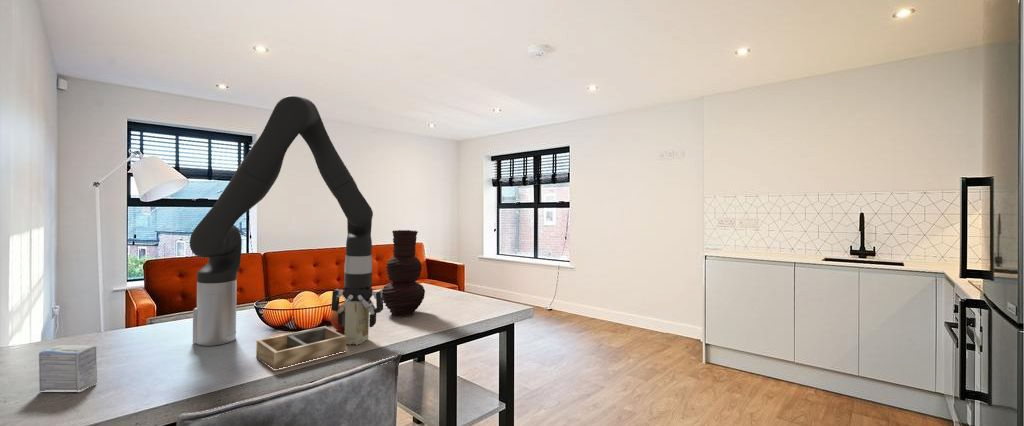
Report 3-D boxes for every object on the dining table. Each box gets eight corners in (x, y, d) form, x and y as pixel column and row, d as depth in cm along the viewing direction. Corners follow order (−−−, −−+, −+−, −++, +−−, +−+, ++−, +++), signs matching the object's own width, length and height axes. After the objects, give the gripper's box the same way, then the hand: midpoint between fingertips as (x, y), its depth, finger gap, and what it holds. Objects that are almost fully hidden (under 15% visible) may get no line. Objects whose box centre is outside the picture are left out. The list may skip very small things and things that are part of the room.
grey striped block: (98, 384, 93) (98, 345, 93) (77, 394, 89) (77, 352, 89) (60, 383, 93) (60, 344, 93) (38, 393, 89) (37, 351, 88)
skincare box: (357, 346, 122) (358, 303, 122) (343, 344, 123) (344, 302, 123) (369, 338, 129) (370, 298, 128) (355, 337, 130) (357, 296, 129)
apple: (354, 325, 141) (354, 301, 141) (360, 332, 134) (361, 307, 134) (327, 328, 137) (328, 303, 136) (333, 336, 130) (333, 310, 129)
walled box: (274, 371, 103) (275, 352, 103) (256, 357, 111) (256, 340, 111) (345, 352, 117) (346, 336, 117) (324, 341, 125) (325, 326, 125)
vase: (380, 308, 161) (382, 228, 160) (421, 307, 166) (424, 229, 165) (380, 320, 147) (382, 232, 145) (426, 318, 151) (429, 233, 150)
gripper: (328, 271, 121) (327, 328, 122) (379, 273, 121) (377, 330, 122) (338, 267, 129) (337, 321, 129) (386, 269, 129) (385, 323, 130)
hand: (357, 325), depth 126 cm, fingers open, 8 cm apart
